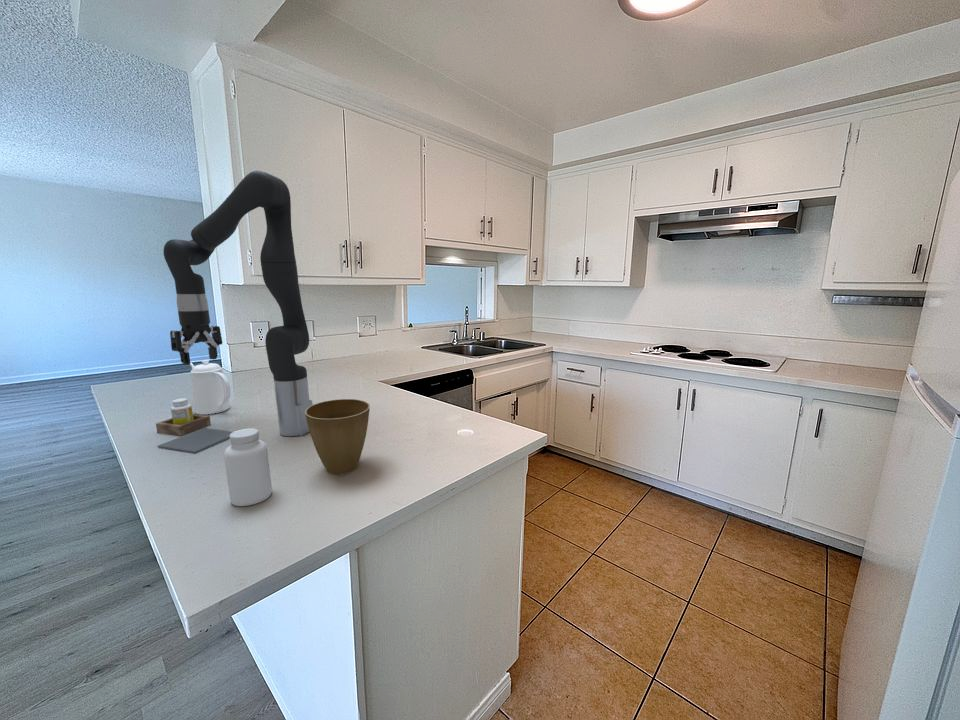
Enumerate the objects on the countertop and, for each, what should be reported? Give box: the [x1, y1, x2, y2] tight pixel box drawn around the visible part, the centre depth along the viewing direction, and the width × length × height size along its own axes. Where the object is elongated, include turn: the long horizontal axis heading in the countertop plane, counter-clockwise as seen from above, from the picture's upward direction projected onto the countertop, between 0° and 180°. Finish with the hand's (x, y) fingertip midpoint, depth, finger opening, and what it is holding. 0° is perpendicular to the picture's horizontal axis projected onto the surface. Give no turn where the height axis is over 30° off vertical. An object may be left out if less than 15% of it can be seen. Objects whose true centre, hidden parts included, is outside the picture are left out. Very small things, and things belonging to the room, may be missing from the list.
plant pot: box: [305, 398, 371, 476], centre depth 96 cm, size 15×15×16 cm
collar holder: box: [155, 413, 212, 437], centre depth 123 cm, size 10×10×3 cm
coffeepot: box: [189, 359, 231, 416], centre depth 139 cm, size 11×25×19 cm, turn 62°
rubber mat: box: [157, 427, 233, 455], centre depth 114 cm, size 14×14×1 cm
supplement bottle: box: [170, 397, 194, 425], centre depth 123 cm, size 5×5×10 cm
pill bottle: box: [223, 427, 273, 507], centre depth 83 cm, size 8×8×15 cm
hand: (200, 361), depth 120 cm, fingers open, 8 cm apart
